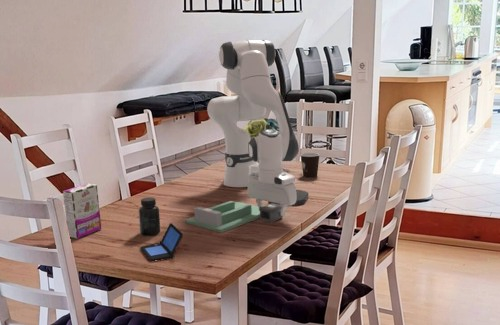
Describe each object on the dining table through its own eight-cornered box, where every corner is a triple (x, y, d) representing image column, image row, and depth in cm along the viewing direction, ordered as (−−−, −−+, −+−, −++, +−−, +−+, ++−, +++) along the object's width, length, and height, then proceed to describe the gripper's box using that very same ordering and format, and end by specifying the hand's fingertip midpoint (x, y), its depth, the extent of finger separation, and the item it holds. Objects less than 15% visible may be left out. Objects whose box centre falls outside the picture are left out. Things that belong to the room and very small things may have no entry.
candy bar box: (91, 227, 210) (87, 182, 207) (101, 229, 208) (98, 184, 204) (66, 237, 201) (62, 190, 198) (77, 239, 198) (72, 192, 195)
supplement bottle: (142, 230, 206) (140, 196, 204) (162, 229, 206) (160, 196, 204) (138, 236, 200) (135, 202, 197) (158, 236, 199) (156, 201, 197)
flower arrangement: (264, 160, 310) (263, 113, 305) (301, 167, 293) (301, 117, 287) (229, 168, 293) (228, 119, 288) (266, 176, 276) (265, 124, 271)
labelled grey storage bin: (272, 215, 219) (272, 202, 218) (283, 217, 216) (282, 205, 215) (260, 219, 214) (259, 207, 213) (270, 222, 211) (270, 209, 210)
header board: (237, 204, 234) (237, 190, 232) (273, 212, 222) (273, 197, 221) (185, 222, 213) (184, 207, 212) (221, 232, 202) (220, 216, 200)
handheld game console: (139, 250, 188) (137, 227, 187) (172, 244, 193) (171, 222, 191) (150, 263, 177) (148, 239, 175) (184, 256, 181) (183, 233, 180)
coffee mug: (320, 177, 271) (320, 156, 269) (301, 178, 271) (301, 156, 269) (317, 171, 283) (317, 151, 280) (299, 172, 283) (299, 151, 281)
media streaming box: (275, 194, 247) (275, 187, 246) (310, 196, 243) (310, 189, 242) (266, 204, 233) (266, 197, 233) (303, 206, 229) (303, 199, 229)
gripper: (243, 173, 216) (244, 210, 219) (287, 181, 203) (288, 220, 206) (254, 170, 220) (255, 206, 223) (298, 177, 207) (299, 216, 210)
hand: (271, 213), depth 214 cm, fingers open, 8 cm apart
